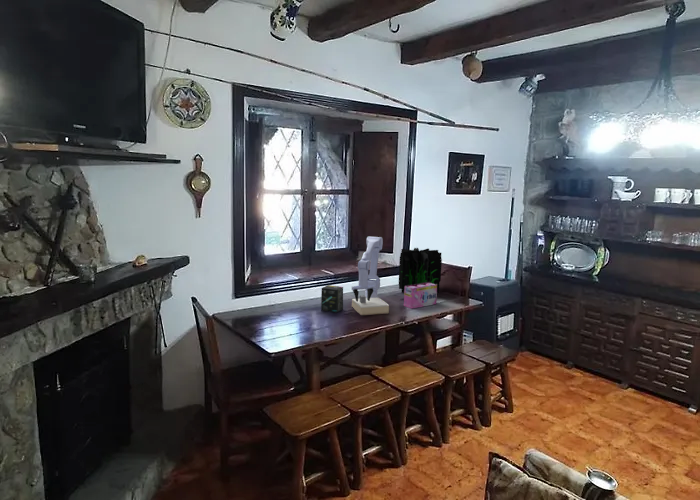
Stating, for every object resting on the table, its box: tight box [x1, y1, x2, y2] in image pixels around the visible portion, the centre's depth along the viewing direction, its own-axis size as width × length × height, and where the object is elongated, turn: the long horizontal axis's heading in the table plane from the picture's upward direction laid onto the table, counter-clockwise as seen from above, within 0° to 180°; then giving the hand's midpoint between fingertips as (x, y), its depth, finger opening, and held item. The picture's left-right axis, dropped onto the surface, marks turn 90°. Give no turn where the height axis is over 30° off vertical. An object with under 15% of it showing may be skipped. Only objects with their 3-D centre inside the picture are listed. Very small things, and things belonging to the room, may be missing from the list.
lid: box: [351, 294, 390, 308], centre depth 292 cm, size 18×18×5 cm
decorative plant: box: [398, 247, 443, 294], centre depth 343 cm, size 29×30×30 cm
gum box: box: [403, 282, 438, 309], centre depth 307 cm, size 24×8×14 cm, turn 125°
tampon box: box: [320, 284, 344, 314], centre depth 290 cm, size 11×9×15 cm
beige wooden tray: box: [351, 299, 390, 316], centre depth 293 cm, size 18×18×4 cm
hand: (362, 300), depth 290 cm, fingers open, 7 cm apart
